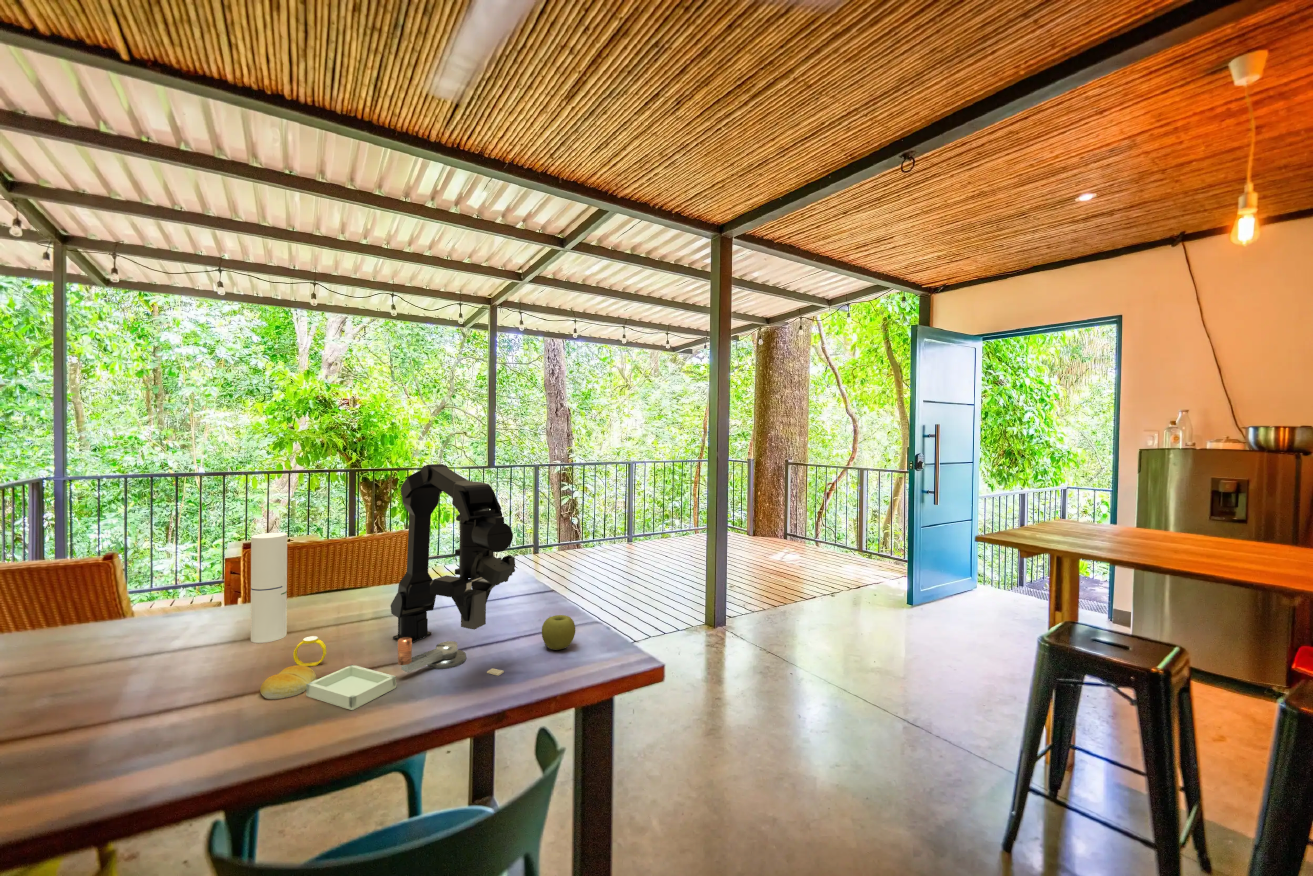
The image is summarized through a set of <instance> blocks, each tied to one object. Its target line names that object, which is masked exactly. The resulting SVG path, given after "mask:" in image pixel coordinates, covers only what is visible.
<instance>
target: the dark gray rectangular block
mask: <svg viewBox="0 0 1313 876" xmlns="http://www.w3.org/2000/svg"><path fill="white" fill-rule="evenodd" d="M472 590H475V589H472ZM486 614H487V602H486V591H481V590H476V592H475V593H474V594H473V596H472V597H471V611H470V619H469V621H468V622H467V621H464V620H463V618H462V616H461V615H460V628H463V629H464V628H465V629H469V630H477V629H479V628H480V627H483V626H485V625H486V622H487V618H486V617H487V615H486Z"/></svg>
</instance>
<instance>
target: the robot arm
mask: <svg viewBox="0 0 1313 876" xmlns="http://www.w3.org/2000/svg"><path fill="white" fill-rule="evenodd" d="M442 493H444V494H446V495H447V496H450V497H451V498H452V501H451V502H452V503H451V505H452V506H453V507H454V508H455V509H456V510H457V511H458V513H459V514H458V515H457V516H456V517H455V520H456V521H457V522H459V548H458V549H457V548H456V549H455V550H454V555H456V556H459V559H458V560H459V561H458V562H459V565H458V568H454V575H458V576H453V575H447V574H446V575H443V576H440V577H436V578H434V579H433V578H432V577H431V575H430V573H429V562H430V561H429V559H430V542H431V541H430V540H431V539H430V537H431V518H432V514H433V512H434V511H435V509H436V508H437V506H438V505H439V501H440V495H441V494H442ZM400 495H401V498H402V504H403V506H404V507H405V509H406V510H407V512H408V514H409V515H408V534H407V535H408V537H407V554H406V556H407V557H406V572H405V573H404V575H403V576H402V578H401V579H400V581H399V582H398V588H397V593H396V594H395V596H394V598H393V600H392V602H391V604H390V612H391V615H393V616H394V617H396V618H397V634H396V635H393V636H392V639H393V640H397V641H398V639H400V638H403V637H411V638H412V644H413V643H415V642H417V641H419V640H422V639H425V638H426V637H428V636H430V635H431V636H432V631H428V627H429V626H428V624H429V623H428V615H427V614H428V611H434V608H435V604H436V603H435V602H436V598H437V596H441V597H446V598H451V599H452V600H453V602H454V604H455V606H456V608H457V610H458V612H459V613H460V617H461V616H462V618H463V620H464V621H467V622H468V621H469V619H470V611H471V597H472V596H473V594H474V593H475V592H476V590H481V591H486V603H487V602H488V598H489V596H490V593H491V591H492V590H493V589H494V588H495V587H496V586H499V585H500V584H502V583H507V582H508V581H509V578H510V577H511V576H513V573H515V572H516V569H515V568H516V559H515V556H514V555H511V554H508V555H505V556H503V557H500V556H499V557H495V556H494V555H495V554H494V552H496V553H501V552H503V551H505V550H507V549H508V548H509V547H510V546H511V544H512V542H513V537H514V533H513V531H512V528H511V527H510V525H509V524H507V523H505V517H504V516H503V512H502V507H501V505H500V503H499V501H498V498H497V496H496V493H495V491H494V490H493V488H492V486H491V485H490V484H489V483H485V482H481V481H474V480H473V481H472V480H468V479H467V478H466V477H464V476H461V475H460V474H459V473H457V472H455V471H453V470H452V469H450V468H449V467H448V465H447V464H444V463H434V464H433V463H431V464H426V465H423V466H422V467H421V468H420V470H418V471H416V472H414V473H412V474H410V475H408V476H407V478H406V479H405V480H404V481H403V482H402V484H401V487H400ZM472 589H475V590H472Z"/></svg>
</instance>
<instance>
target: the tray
mask: <svg viewBox="0 0 1313 876" xmlns="http://www.w3.org/2000/svg"><path fill="white" fill-rule="evenodd" d="M396 688H397V676H396V675H393V674H388V673H385V672H382V671H377V670H374V669H371V668H367V667H366V668H365V667H363V666H360V665H356V664H350V665H348V666H346V667H343V668H341V669H339V670H337V671H334V672H332V673H330V674H327V675H325V676H322V677H321V678H317V680H315V681H313V682H310V683H308V684H306V690H305V692H306V693H305V694H306V695H305V696H306V697H308V698H311V699H314V700H318V701H320V702H324V703H327V704H331V705H333V706H337V707H340V708H343V709H346V710H350V711H354V710H356V709H357V708H360V707H362V706H364V705H366V704H368V703H369V702H371V701H373V700H375V699H377V698H379V697H381V696H382V695H384V694H387V693H389V692H391V691H392V690H395V689H396Z"/></svg>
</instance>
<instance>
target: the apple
mask: <svg viewBox="0 0 1313 876" xmlns="http://www.w3.org/2000/svg"><path fill="white" fill-rule="evenodd" d="M575 635H576V625H575V621H574V620H573V618H572V617H570V616H569V615H564V614H555V615H553V616H549V617H548V618H546V619H545V621H544V622H543V624H542V626H541V637H542V640H543V643H544V644H545V646H546V647H547V648H548V649H550V650H554V651H555V650H556V651H558V650H559V651H560V650H563V649H566V648H568V647H569V646H570V645H571V644H572V642H573V641H574V638H575Z"/></svg>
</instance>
